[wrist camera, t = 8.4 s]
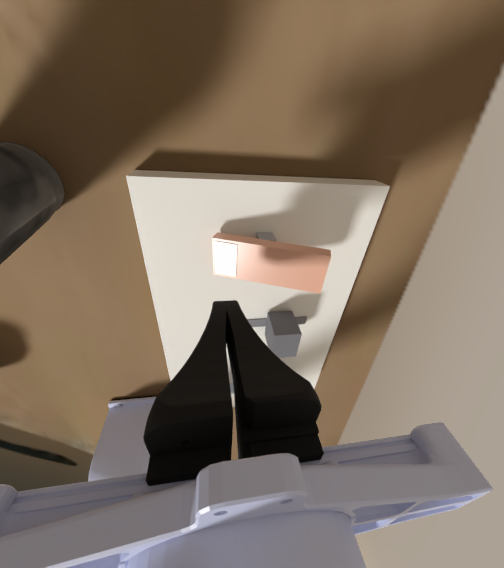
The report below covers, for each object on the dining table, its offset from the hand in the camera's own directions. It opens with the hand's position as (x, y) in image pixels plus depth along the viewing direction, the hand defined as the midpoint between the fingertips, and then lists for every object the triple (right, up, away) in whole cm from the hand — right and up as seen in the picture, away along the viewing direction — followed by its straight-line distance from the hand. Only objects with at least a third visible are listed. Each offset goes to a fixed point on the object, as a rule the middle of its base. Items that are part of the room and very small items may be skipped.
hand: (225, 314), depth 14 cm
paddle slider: (+4, -2, +10) cm, 11 cm away
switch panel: (+2, -1, +11) cm, 11 cm away
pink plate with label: (+3, +3, +3) cm, 5 cm away
